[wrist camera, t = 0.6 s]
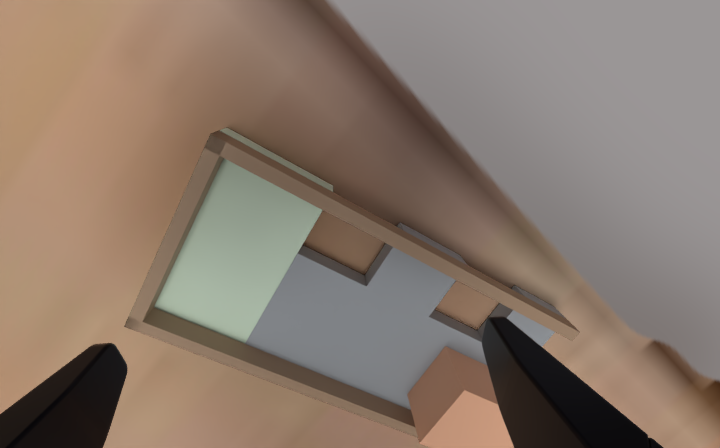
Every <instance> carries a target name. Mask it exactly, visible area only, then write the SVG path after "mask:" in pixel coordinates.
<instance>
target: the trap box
mask: <svg viewBox="0 0 720 448" xmlns="http://www.w3.org/2000/svg"><path fill="white" fill-rule="evenodd" d="M322 210H324V211H325V212H327V213H329V214H331V215H333V216H335V217H337V218H339V219H341V220H343V221H344V222H346V223H348V224H350V225H352V226H354V227H356V228H358V229H360V230H362V231H364V232H365V233H367V234H369V235H371V236H373V237H375V238H377V239H379V240H381V241H383V242H384V243H386V244H385V245H384V247H383V248H382V250H381V251H380V253H379V254H378V256H377V257H376V259H375V261H374V262H373V264H372V265H371V267H370V268H369V270H368V271H367V273H366V274H365V275H363V274H361V273H359V272H356V271H354V270H352V269H350V268H348V267H346V266H344V265H342V264H340V263H338V262H336V261H334V260H332V259H330V258H328V257H326V256H324V255H322V254H320V253H318V252H316V251H314V250H312V249H310V248H308V247H306V246H304V245H303V243H304V241H305V240H306V238H307V236H308V234H309V233H310V231H311V229H312V228H313V226H314V224H315V222H316V221H317V219H318V217H319V216H320V214H321V212H322ZM456 280H457V281H459V282H461V283H463V284H464V285H466V286H468V287H470V288H472V289H474V290H476V291H478V292H480V293H482V294H484V295H485V296H487V297H489V298H491V299H493V300H495V301H497V302H499V305H498V306H497V307H496V308H495V309H494V311H493V312H492V313H491V314H490V316H489V317H497V316H503V317H506V318H507V319H509V320H510V321H511V322H512V323H513V324H515V325H516V326H517V327H518V328H519V329H521V330H522V331H523V332H524V333H526V334H527V335H528V336H529V337H530V338H532V339H533V340H534V341H535V342H536V343H538V344H539V345H540V346H541V347H542V346H543V345H544V344H545V343H546V342H547V340H548V339H549V338H550V337H551V336H552V335H553V334H554V333H555V332H556V333H558V334H560V335H562V336H564V337H565V338H567V339H569V340H571V341H573V340H574V339H575V338H576V336H577V335H578V334H579V333H580V332H579V331H578V330H577V329H576V328H575V327H574V326H573V325H572V324H571V323H570V322H569V321H568V320H567V319H566V318H565V317H564V316H563V315H562V314H561V313H560V312H559V311H558V310H557V309H556V308H555V307H554V306H552V305H550V304H548V303H546V302H544V301H543V300H541V299H539V298H537V297H535V296H533V295H532V294H530V293H528V292H526V291H524V290H522V289H521V288H519V287H517V286H515V285H514V286H513V287H512V289H510V288H509V287H507V286H505V285H503V284H501V283H499V282H497V281H496V280H494V279H492V278H490V277H488V276H486V275H485V274H483V273H481V272H479V271H477V270H475V269H474V268H472V267H470V266H468V265H467V264H466V263H465V261H464V260H463V259H462V257H461V256H460V255H459V254H457V253H455V252H453V251H451V250H449V249H448V248H446V247H444V246H442V245H440V244H439V243H437V242H435V241H433V240H431V239H429V238H428V237H426V236H424V235H422V234H420V233H418V232H417V231H415V230H413V229H411V228H409V227H408V226H406V225H404V224H402V223H399V224H398V226H397V227H396V226H394V225H393V224H391V223H389V222H387V221H385V220H383V219H381V218H380V217H378V216H376V215H374V214H372V213H370V212H369V211H367V210H365V209H363V208H361V207H359V206H358V205H356V204H354V203H352V202H350V201H348V200H346V199H345V198H343V197H341V196H339V195H337V194H335V193H334V192H333V185H331V184H329V183H327V182H325V181H324V180H322V179H320V178H318V177H316V176H314V175H313V174H311V173H309V172H307V171H305V170H303V169H302V168H300V167H298V166H296V165H294V164H293V163H291V162H289V161H287V160H285V159H283V158H282V157H280V156H278V155H276V154H274V153H272V152H271V151H269V150H267V149H265V148H263V147H262V146H260V145H258V144H256V143H254V142H252V141H251V140H249V139H247V138H245V137H243V136H241V135H240V134H238V133H236V132H234V131H232V130H230V129H229V128H224V129H222V130H220V131H217V132H214V133H211V134H210V136H209V138H208V141H207V143H206V145H205V147H204V150H203V152H202V154H201V156H200V159H199V161H198V163H197V165H196V167H195V170H194V172H193V174H192V176H191V179H190V181H189V183H188V185H187V188H186V190H185V192H184V194H183V196H182V199H181V201H180V203H179V205H178V208H177V210H176V212H175V214H174V217H173V219H172V221H171V223H170V225H169V228H168V230H167V232H166V234H165V237H164V239H163V241H162V243H161V246H160V248H159V250H158V252H157V254H156V257H155V259H154V261H153V263H152V266H151V268H150V270H149V272H148V275H147V277H146V279H145V281H144V283H143V286H142V288H141V290H140V292H139V295H138V297H137V299H136V301H135V304H134V306H133V308H132V310H131V312H130V315H129V317H128V319H127V321H126V324H125V326H124V327H127V328H129V329H132V330H134V331H137V332H140V333H142V334H145V335H148V336H150V337H153V338H156V339H158V340H161V341H164V342H166V343H169V344H171V345H174V346H177V347H179V348H182V349H185V350H187V351H190V352H193V353H195V354H198V355H201V356H203V357H206V358H208V359H211V360H214V361H216V362H219V363H222V364H224V365H227V366H230V367H232V368H235V369H237V370H240V371H243V372H245V373H248V374H251V375H253V376H256V377H259V378H261V379H264V380H267V381H269V382H272V383H274V384H277V385H280V386H282V387H285V388H288V389H290V390H293V391H296V392H298V393H301V394H304V395H306V396H309V397H311V398H314V399H317V400H319V401H322V402H325V403H327V404H330V405H333V406H335V407H338V408H340V409H343V410H346V411H348V412H351V413H354V414H356V415H359V416H362V417H364V418H367V419H370V420H372V421H375V422H377V423H380V424H383V425H385V426H388V427H391V428H393V429H396V430H399V431H401V432H404V433H407V434H409V435H412V436H414V437H417V438H418V436H417V432H416V428H415V424H414V420H413V416H412V412H411V407H410V403H409V399H408V395H407V394H408V393H409V391H410V390H411V389H412V388H413V386H414V385H415V384H416V383H417V381H418V380H419V379H420V378H421V376H422V375H423V374H424V373H425V371H426V370H427V369H428V367H429V366H430V365H431V364H432V362H433V361H434V360H435V359H436V357H437V356H438V355H439V354H440V352H441V351H442V350H443V349H444V347H445V346H446V347H448V348H450V349H453V350H455V351H457V352H459V353H461V354H463V355H466V356H468V357H470V358H472V359H474V360H476V361H478V362H481V363H483V364H485V365H487V363H486V359H485V356H484V352H483V348H482V336H483V332H484V327H485V323H486V321H485V322H484V323H483V324H482V326H481V327H480V328H479V329H478V330H475V329H473V328H471V327H469V326H467V325H464V324H462V323H460V322H458V321H456V320H454V319H452V318H450V317H448V316H446V315H444V314H442V313H440V312H438V311H436V310H434V309H435V308H436V306H437V305H438V304H439V302H440V301H441V300H442V298H443V297H444V296H445V294H446V293H447V292H448V290H449V289H450V288H451V287H452V285H453V284H454V283H455V281H456ZM486 320H487V319H486Z"/></svg>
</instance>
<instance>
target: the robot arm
mask: <svg viewBox="0 0 720 448" xmlns="http://www.w3.org/2000/svg"><path fill="white" fill-rule="evenodd" d="M482 348H483V352H484V356H485V359H486V363H487V366H488V370H489V374H490V377H491V381H492V385H493V388H494V392H495V396H496V399H497V403H498V406H499V409H500V412H501V415H502V418H503V420H504V423H505V425H506V428H507V430H508V433H509V436H510V438H511V441H512V443H513V446H514V448H663V447H662V446H661V445H660V444H658V443H657V442H656V441H655V440H654V439H652V438H648V435H647V434H646V433H645V432H644V431H642V430H641V429H640V428H639V427H638V426H636V425H635V424H634V423H633V422H632V421H630V420H629V419H628V418H627V417H626V416H624V415H623V414H622V413H621V412H620V411H618V410H617V409H616V408H615V407H614V406H612V405H611V404H610V403H609V402H608V401H606V400H605V399H604V398H603V397H601V396H600V395H599V394H598V393H597V392H595V391H594V390H593V389H592V388H591V387H589V386H588V385H587V384H586V383H585V382H583V381H582V380H581V379H580V378H579V377H577V376H576V375H575V374H574V373H573V372H571V371H570V370H569V369H568V368H567V367H565V366H564V365H563V364H562V363H560V362H559V361H558V360H557V359H556V358H554V357H553V356H552V355H551V354H550V353H548V352H547V351H546V350H545V349H544V348H542V347H541V346H540V345H539V344H538V343H536V342H535V341H534V340H533V339H532V338H530V337H529V336H528V335H527V334H526V333H524V332H523V331H522V330H521V329H519V328H518V327H517V326H516V325H515V324H513V323H512V322H511V321H510V320H509V319H507V318H506V317H503V316H497V317H488V318H487V320H486V323H485V327H484V332H483V336H482ZM126 375H127V364H126V362H125V360H124V359H123V357H122V355H121V354H120V352H119V350H118V349H117V347H116V346H115V345H114V344H112V343H103V344H95V345H92V346H90V347H89V348H88V349H86V350H85V351H84V352H82V353H81V354H80V355H78V356H77V357H76V358H74V359H73V360H72V361H70V362H69V363H68V364H66V365H65V366H64V367H62V368H61V369H60V370H58V371H57V372H56V373H54V374H53V375H52V376H50V377H49V378H48V379H46V380H45V381H44V382H42V383H41V384H40V385H38V386H37V387H36V388H34V389H33V390H32V391H30V392H29V393H28V394H26V395H25V396H24V397H22V398H21V399H20V400H18V401H17V402H16V403H14V404H13V405H12V406H10V407H9V408H8V409H6V410H5V411H4V412H3V413H1V414H0V448H103V445H104V443H105V440H106V438H107V435H108V432H109V429H110V426H111V423H112V420H113V416H114V413H115V410H116V407H117V404H118V401H119V397H120V394H121V391H122V388H123V385H124V382H125V378H126Z"/></svg>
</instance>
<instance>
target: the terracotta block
mask: <svg viewBox="0 0 720 448" xmlns="http://www.w3.org/2000/svg"><path fill="white" fill-rule="evenodd" d="M407 395H408V399H409V403H410V407H411V412H412V416H413V420H414V424H415V428H416V432H417V436H418V440H419V444H422V445H425V446H427V447H430V448H512V447H513V443H512V441H511V438H510V436H509V433H508V430H507V428H506V425H505V423H504V420H503V418H502V415H501V412H500V409H499V406H498V403H497V399H496V396H495V392H494V388H493V385H492V381H491V377H490V374H489V370H488V366H487V365H485V364H483V363H481V362H478V361H476V360H474V359H472V358H470V357H468V356H466V355H463V354H461V353H459V352H457V351H455V350H453V349H450V348H448V347H446V346H445V347H444V349H443V350H442V351H441V352H440V354H439V355H438V356H437V357H436V359H435V360H434V361H433V362H432V364H431V365H430V366H429V367H428V369H427V370H426V371H425V373H424V374H423V375H422V376H421V378H420V379H419V380H418V381H417V383H416V384H415V385H414V386H413V388H412V389H411V390H410V391H409V393H408V394H407Z"/></svg>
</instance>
